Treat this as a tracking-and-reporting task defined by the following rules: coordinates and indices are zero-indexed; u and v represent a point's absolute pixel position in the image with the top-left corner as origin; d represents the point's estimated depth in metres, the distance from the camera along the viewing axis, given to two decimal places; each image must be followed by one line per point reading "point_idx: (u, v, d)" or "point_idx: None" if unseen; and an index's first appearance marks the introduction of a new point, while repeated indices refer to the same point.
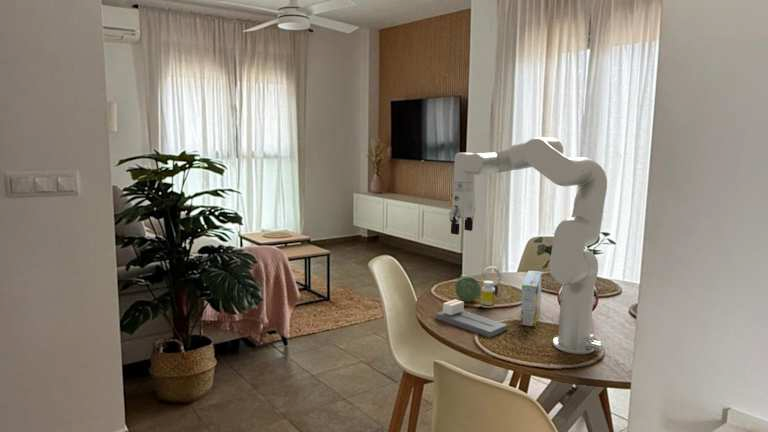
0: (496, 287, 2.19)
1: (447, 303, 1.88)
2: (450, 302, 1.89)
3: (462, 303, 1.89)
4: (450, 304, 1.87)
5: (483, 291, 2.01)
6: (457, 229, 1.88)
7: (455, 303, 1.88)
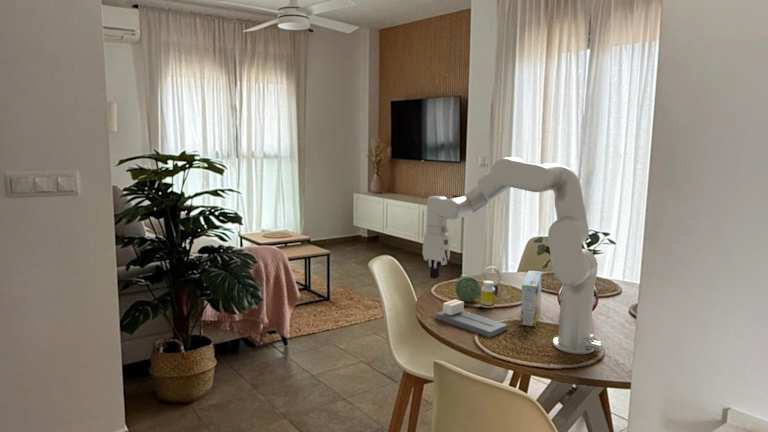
0: (496, 287, 2.19)
1: (447, 303, 1.88)
2: (450, 302, 1.89)
3: (462, 303, 1.89)
4: (450, 304, 1.87)
5: (483, 291, 2.01)
6: None
7: (455, 303, 1.88)
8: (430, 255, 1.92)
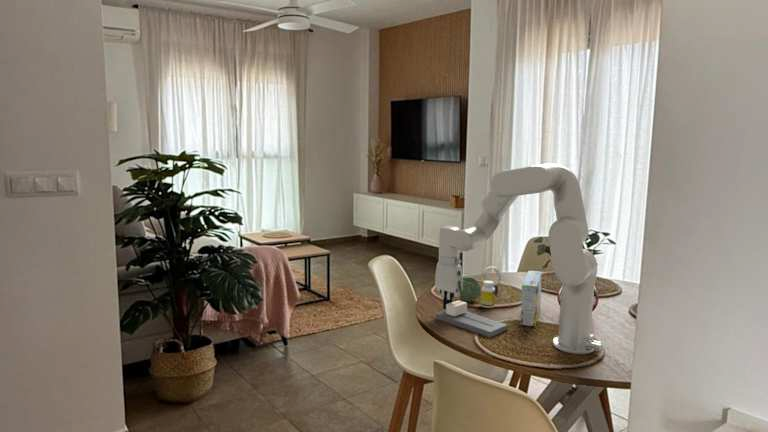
0: (496, 287, 2.19)
1: (450, 304, 1.87)
2: (453, 303, 1.88)
3: (465, 304, 1.88)
4: (453, 305, 1.86)
5: (483, 291, 2.01)
6: None
7: (458, 304, 1.87)
8: (443, 286, 1.89)
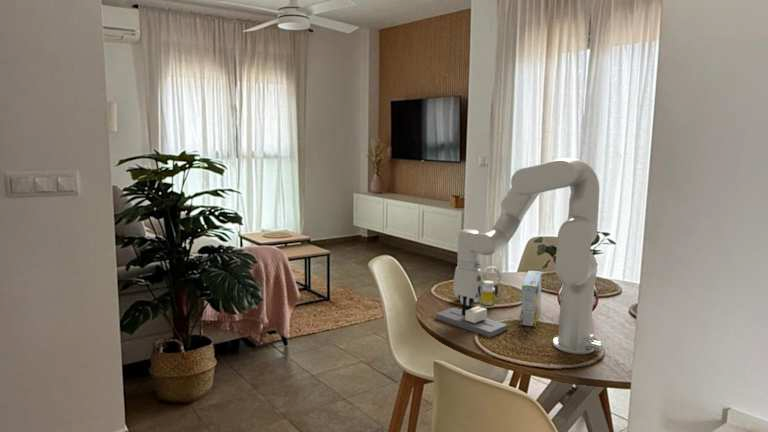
0: (496, 287, 2.19)
1: (470, 310, 1.80)
2: (473, 309, 1.81)
3: (485, 310, 1.82)
4: (473, 311, 1.79)
5: (483, 291, 2.01)
6: None
7: (478, 310, 1.80)
8: (462, 292, 1.82)
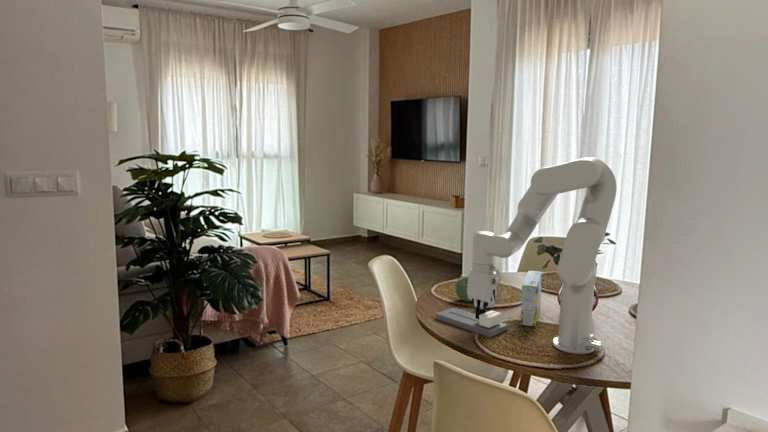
0: None
1: (484, 315, 1.76)
2: (487, 313, 1.77)
3: (499, 315, 1.78)
4: (487, 316, 1.75)
5: None
6: None
7: (492, 315, 1.76)
8: (476, 295, 1.78)
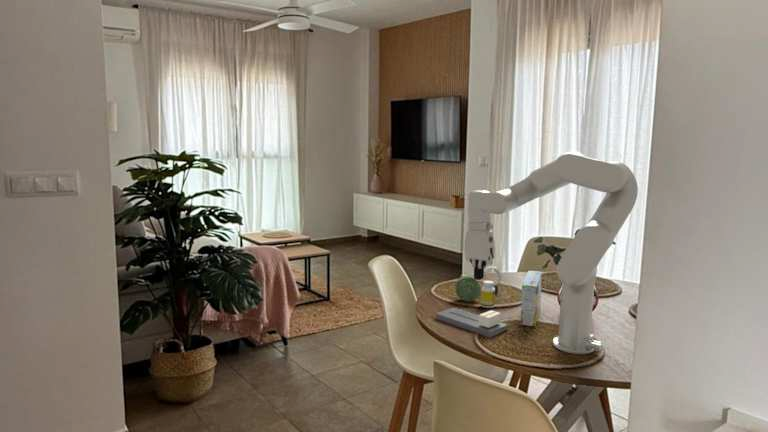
0: (496, 287, 2.19)
1: (483, 314, 1.76)
2: (486, 313, 1.77)
3: (499, 314, 1.78)
4: (487, 316, 1.75)
5: (483, 291, 2.01)
6: None
7: (492, 314, 1.76)
8: (474, 254, 1.77)
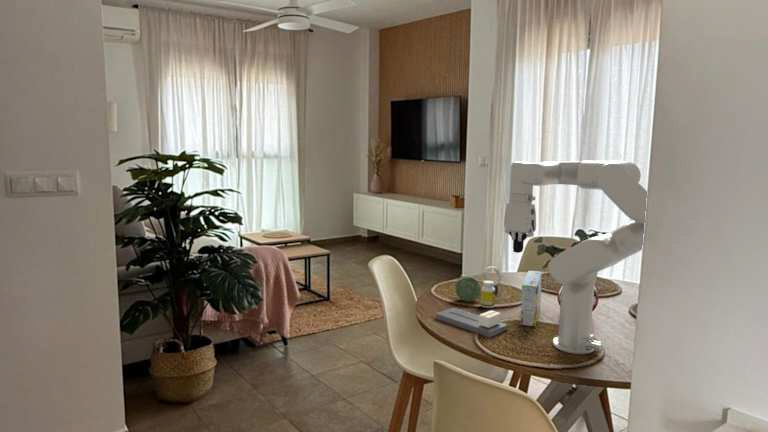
0: (496, 287, 2.19)
1: (483, 314, 1.76)
2: (486, 313, 1.77)
3: (499, 314, 1.78)
4: (487, 316, 1.75)
5: (483, 291, 2.01)
6: None
7: (492, 314, 1.76)
8: (514, 227, 1.75)
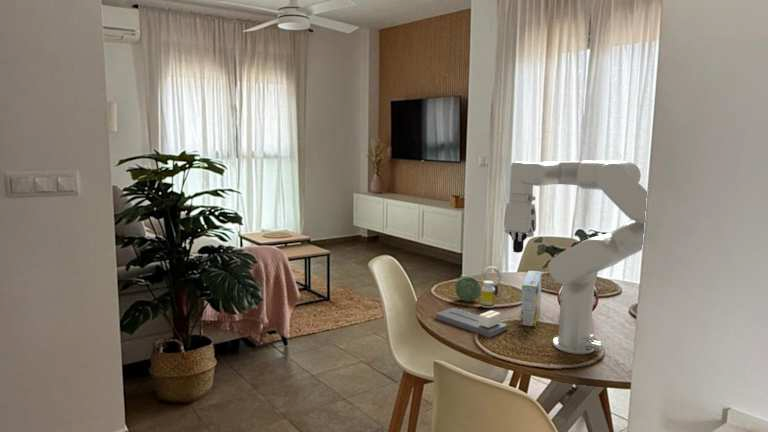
0: (496, 287, 2.19)
1: (483, 314, 1.76)
2: (486, 313, 1.77)
3: (499, 314, 1.78)
4: (487, 316, 1.75)
5: (483, 291, 2.01)
6: None
7: (492, 314, 1.76)
8: (514, 227, 1.75)
